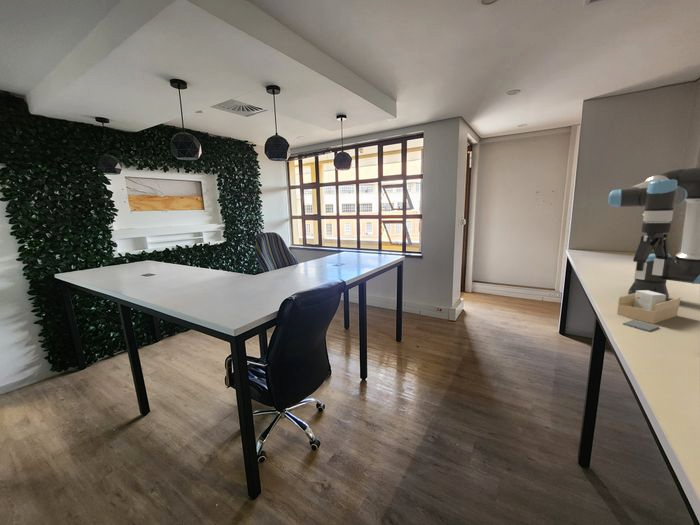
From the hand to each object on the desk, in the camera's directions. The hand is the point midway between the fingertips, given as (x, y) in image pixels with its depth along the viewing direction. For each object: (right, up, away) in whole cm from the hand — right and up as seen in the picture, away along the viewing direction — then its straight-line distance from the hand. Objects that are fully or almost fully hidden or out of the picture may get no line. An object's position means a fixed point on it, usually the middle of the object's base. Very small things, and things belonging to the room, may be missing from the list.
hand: (648, 277), depth 113 cm
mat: (0, -20, +3) cm, 20 cm away
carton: (+15, -18, +15) cm, 28 cm away
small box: (+15, -18, +15) cm, 28 cm away
